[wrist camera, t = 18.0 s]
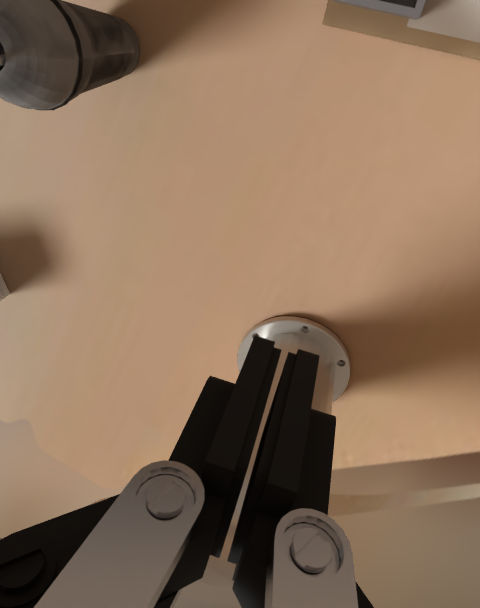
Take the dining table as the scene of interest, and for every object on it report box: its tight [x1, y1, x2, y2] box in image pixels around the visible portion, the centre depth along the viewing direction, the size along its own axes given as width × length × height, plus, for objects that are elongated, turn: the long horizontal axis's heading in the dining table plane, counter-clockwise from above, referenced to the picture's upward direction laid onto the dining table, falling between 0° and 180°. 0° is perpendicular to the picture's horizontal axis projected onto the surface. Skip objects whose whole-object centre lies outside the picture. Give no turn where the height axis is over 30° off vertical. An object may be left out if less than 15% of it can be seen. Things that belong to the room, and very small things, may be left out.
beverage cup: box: [0, 0, 140, 110], centre depth 31 cm, size 7×7×20 cm
